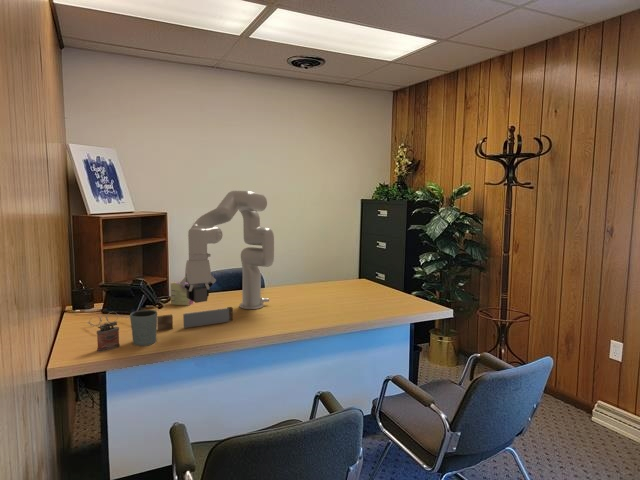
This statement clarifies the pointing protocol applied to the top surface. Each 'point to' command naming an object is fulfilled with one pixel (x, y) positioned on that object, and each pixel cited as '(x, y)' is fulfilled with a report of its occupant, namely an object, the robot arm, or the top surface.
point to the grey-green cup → (144, 327)
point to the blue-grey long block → (206, 317)
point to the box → (179, 294)
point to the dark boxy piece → (198, 293)
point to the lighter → (108, 337)
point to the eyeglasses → (106, 319)
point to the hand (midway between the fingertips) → (198, 298)
